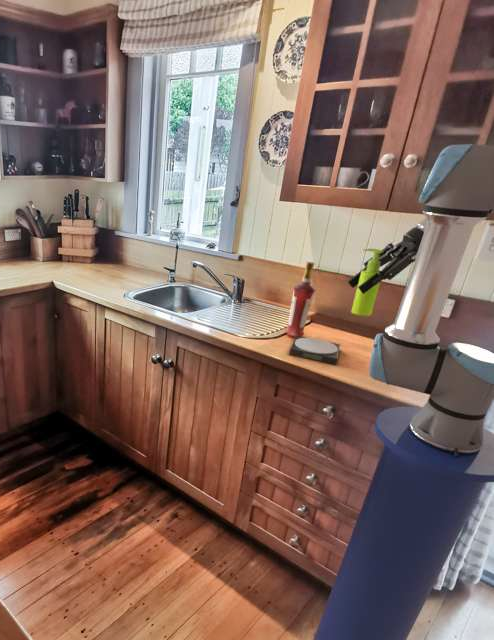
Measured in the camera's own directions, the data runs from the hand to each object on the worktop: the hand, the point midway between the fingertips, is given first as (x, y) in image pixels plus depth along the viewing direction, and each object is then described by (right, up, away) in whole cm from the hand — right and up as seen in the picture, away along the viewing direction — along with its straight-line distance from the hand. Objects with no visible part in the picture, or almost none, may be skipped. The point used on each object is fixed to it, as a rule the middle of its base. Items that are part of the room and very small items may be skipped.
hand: (355, 287), depth 145 cm
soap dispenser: (+3, -8, +4) cm, 9 cm away
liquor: (-7, -13, +33) cm, 36 cm away
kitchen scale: (-5, -19, +19) cm, 27 cm away
